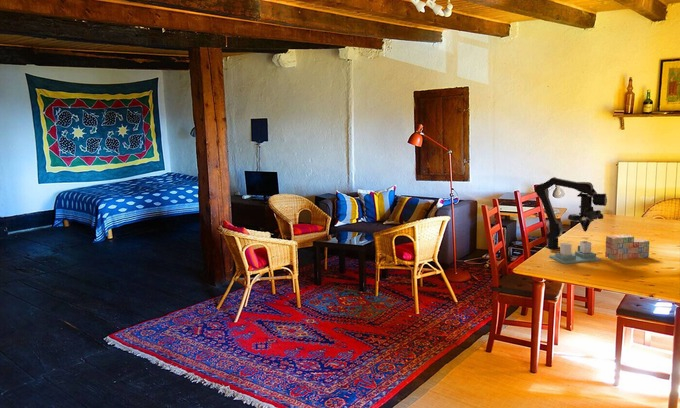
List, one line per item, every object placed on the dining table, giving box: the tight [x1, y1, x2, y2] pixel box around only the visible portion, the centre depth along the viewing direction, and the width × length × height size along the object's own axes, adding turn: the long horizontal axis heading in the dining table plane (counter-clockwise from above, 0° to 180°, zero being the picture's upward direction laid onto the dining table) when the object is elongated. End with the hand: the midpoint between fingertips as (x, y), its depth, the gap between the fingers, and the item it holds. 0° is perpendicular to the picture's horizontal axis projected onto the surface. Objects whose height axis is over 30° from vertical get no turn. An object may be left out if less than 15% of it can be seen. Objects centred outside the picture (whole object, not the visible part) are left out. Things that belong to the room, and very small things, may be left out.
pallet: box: [548, 242, 602, 265], centre depth 295 cm, size 14×22×9 cm, turn 100°
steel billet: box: [579, 240, 592, 254], centre depth 296 cm, size 4×4×8 cm
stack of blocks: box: [604, 234, 650, 260], centre depth 294 cm, size 21×6×12 cm, turn 95°
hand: (585, 231), depth 307 cm, fingers closed
